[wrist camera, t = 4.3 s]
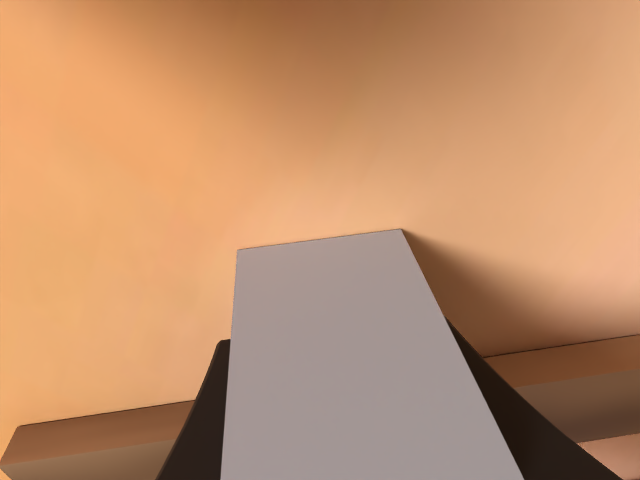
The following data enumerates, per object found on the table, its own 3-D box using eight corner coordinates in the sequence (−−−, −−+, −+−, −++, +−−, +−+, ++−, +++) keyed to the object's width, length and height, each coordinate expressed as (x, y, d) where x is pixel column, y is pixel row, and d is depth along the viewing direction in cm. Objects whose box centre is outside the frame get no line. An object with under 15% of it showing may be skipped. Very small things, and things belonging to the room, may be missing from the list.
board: (652, 398, 16) (679, 429, 15) (71, 488, 15) (58, 528, 14) (697, 326, 14) (732, 356, 13) (17, 426, 13) (-4, 468, 12)
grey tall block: (391, 452, 16) (446, 667, 12) (288, 468, 16) (300, 694, 11) (400, 228, 10) (525, 483, 6) (237, 250, 10) (215, 532, 5)
